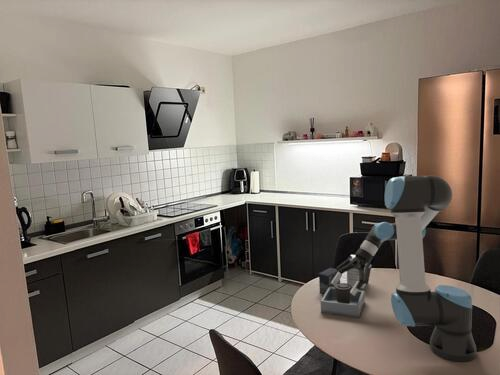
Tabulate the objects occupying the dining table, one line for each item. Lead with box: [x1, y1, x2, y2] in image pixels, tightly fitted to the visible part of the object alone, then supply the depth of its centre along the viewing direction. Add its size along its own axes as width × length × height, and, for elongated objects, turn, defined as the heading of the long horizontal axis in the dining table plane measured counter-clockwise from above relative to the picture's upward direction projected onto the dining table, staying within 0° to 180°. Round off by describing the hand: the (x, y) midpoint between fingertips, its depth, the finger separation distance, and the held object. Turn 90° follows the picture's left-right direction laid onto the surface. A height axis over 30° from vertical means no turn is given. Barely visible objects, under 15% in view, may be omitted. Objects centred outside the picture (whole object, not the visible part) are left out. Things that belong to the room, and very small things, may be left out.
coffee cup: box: [334, 282, 353, 304], centre depth 178 cm, size 8×8×10 cm
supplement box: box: [346, 254, 367, 289], centre depth 203 cm, size 9×9×15 cm
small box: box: [318, 267, 341, 295], centre depth 197 cm, size 11×6×10 cm, turn 134°
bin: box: [320, 287, 365, 319], centre depth 178 cm, size 17×17×6 cm
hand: (342, 289), depth 178 cm, fingers open, 13 cm apart
